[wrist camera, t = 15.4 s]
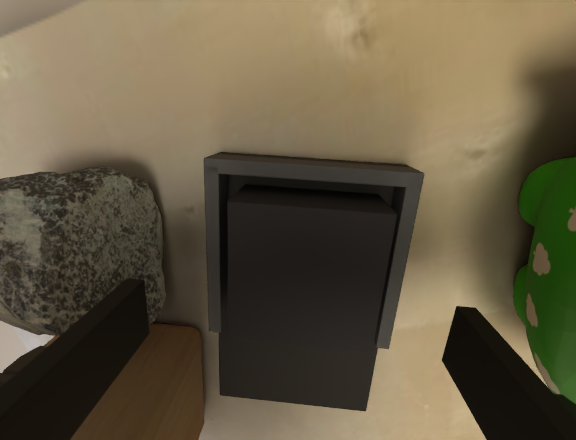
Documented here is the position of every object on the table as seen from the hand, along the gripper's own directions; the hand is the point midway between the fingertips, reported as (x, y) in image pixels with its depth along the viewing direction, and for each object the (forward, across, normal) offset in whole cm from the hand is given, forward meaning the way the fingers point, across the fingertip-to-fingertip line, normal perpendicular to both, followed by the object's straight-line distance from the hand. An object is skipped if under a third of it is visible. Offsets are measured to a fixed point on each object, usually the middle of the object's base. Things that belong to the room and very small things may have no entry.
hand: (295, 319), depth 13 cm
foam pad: (+7, 0, 0) cm, 7 cm away
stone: (+8, -13, 0) cm, 15 cm away
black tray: (+8, 0, -3) cm, 9 cm away
